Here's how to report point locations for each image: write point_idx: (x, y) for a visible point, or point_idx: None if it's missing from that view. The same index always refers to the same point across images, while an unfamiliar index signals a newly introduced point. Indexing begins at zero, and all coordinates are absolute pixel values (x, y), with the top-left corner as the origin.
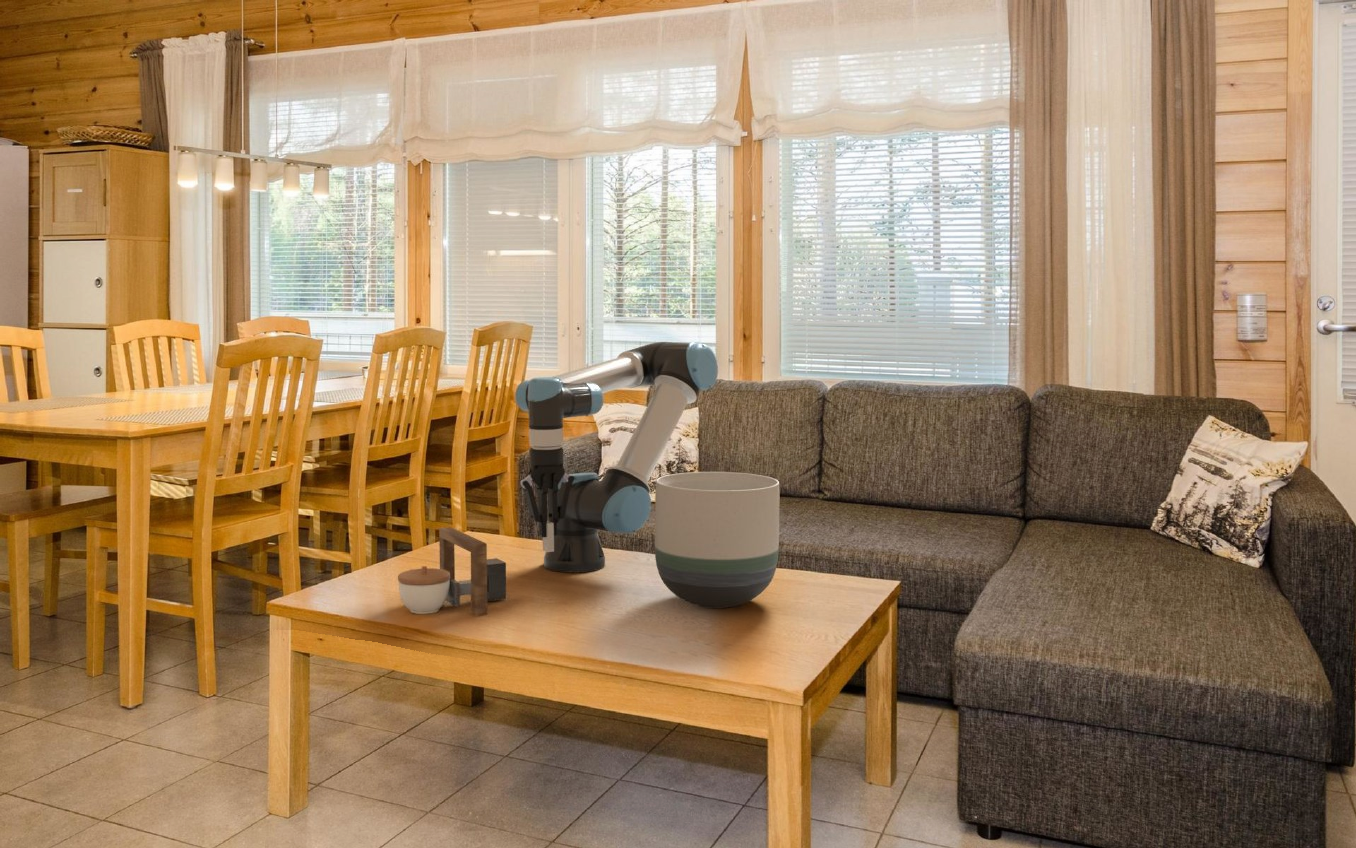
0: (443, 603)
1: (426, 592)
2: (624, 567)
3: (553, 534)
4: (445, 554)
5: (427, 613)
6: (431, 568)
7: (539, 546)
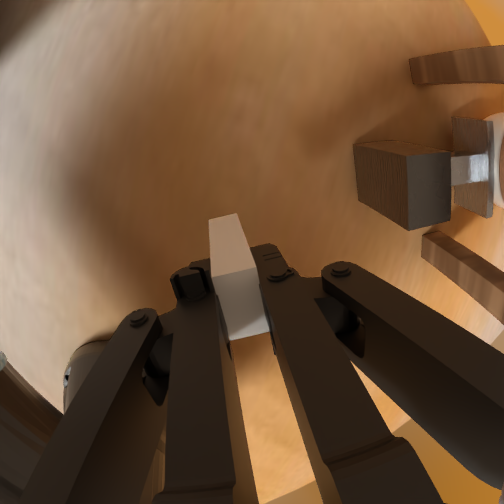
0: None
1: None
2: (34, 347)
3: (211, 246)
4: (495, 269)
5: None
6: None
7: None
